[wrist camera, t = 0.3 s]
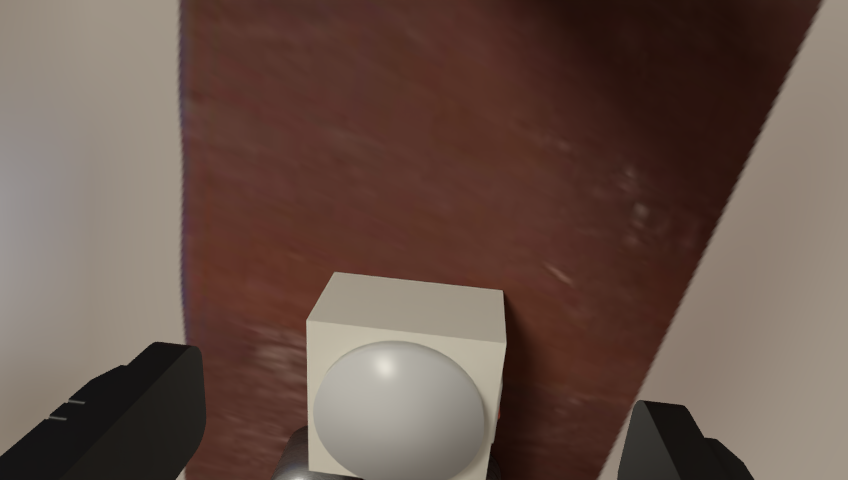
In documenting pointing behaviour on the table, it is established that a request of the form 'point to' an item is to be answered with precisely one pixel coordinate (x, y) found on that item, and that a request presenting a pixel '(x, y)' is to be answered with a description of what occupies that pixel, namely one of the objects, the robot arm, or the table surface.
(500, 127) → the table surface
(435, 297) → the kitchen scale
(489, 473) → the cylinder
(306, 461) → the cylinder
